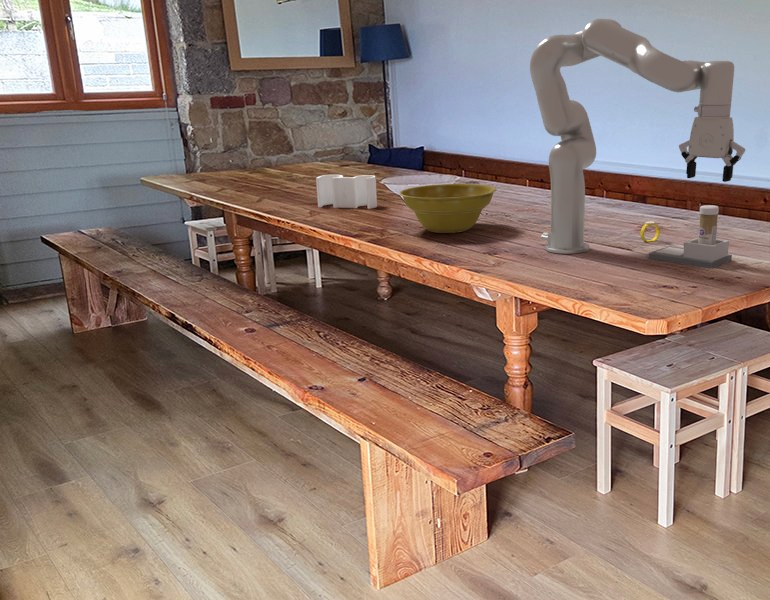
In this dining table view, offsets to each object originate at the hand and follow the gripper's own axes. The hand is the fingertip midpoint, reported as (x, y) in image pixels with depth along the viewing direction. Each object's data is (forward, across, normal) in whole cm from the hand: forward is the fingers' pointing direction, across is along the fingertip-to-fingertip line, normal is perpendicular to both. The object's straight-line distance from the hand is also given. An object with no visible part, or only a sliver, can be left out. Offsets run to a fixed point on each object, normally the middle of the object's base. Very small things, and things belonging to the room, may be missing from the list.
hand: (708, 179), depth 211 cm
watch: (+23, -24, +14) cm, 35 cm away
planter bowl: (+24, -86, -8) cm, 89 cm away
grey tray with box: (+22, -4, 0) cm, 22 cm away
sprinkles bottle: (+21, +1, 0) cm, 21 cm away
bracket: (+26, -152, +3) cm, 154 cm away
